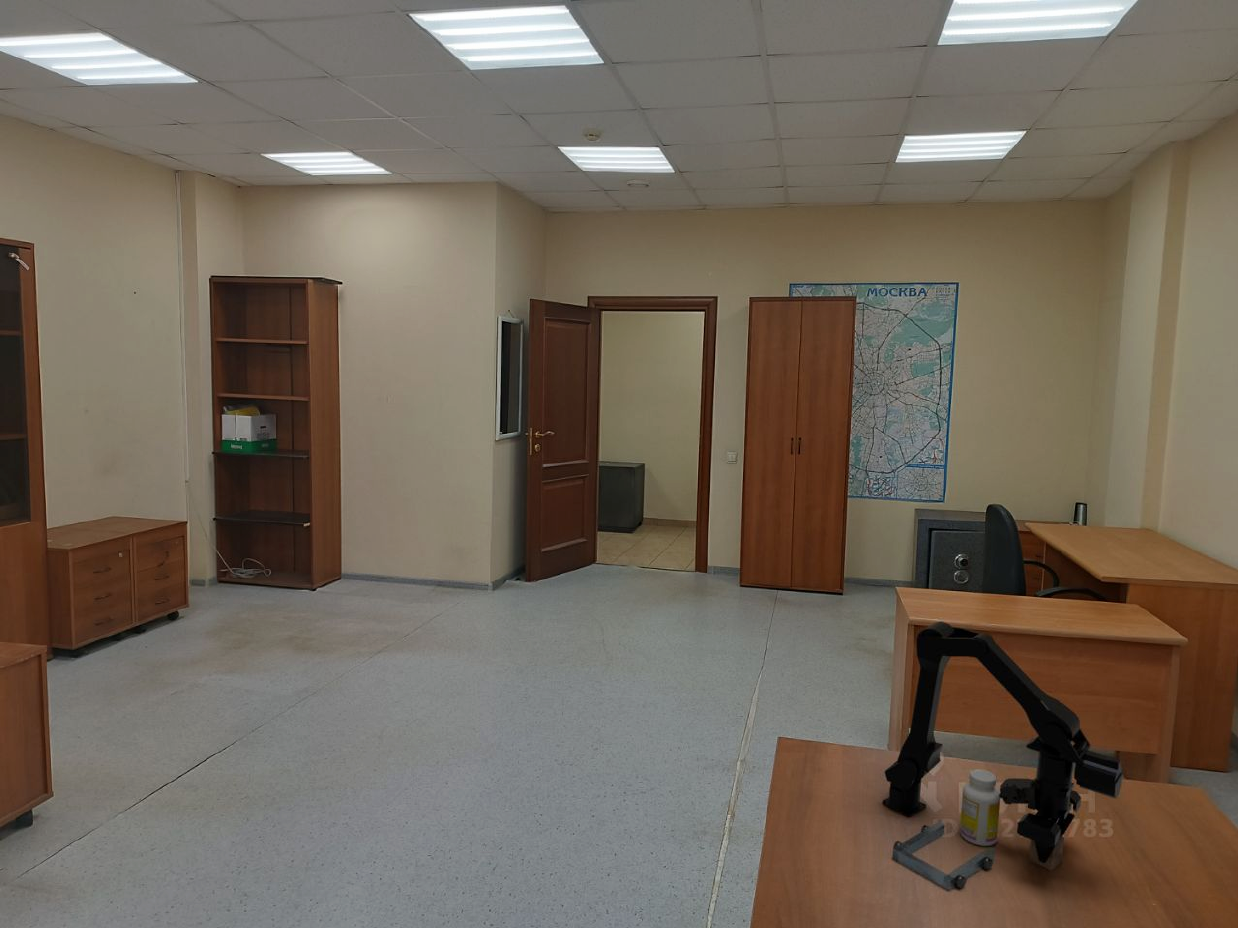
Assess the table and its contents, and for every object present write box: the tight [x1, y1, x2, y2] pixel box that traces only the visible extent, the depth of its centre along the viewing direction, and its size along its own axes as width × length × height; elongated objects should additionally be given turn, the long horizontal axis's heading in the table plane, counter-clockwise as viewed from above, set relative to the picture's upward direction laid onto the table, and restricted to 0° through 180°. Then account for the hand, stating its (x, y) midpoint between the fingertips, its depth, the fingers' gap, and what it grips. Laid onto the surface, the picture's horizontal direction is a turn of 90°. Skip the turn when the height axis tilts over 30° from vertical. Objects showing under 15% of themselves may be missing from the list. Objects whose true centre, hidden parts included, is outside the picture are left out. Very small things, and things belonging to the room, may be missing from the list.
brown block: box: [1028, 836, 1065, 871], centre depth 153 cm, size 4×4×5 cm
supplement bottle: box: [959, 768, 1001, 847], centre depth 160 cm, size 7×7×13 cm
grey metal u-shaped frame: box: [891, 821, 996, 892], centre depth 154 cm, size 15×13×2 cm
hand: (1045, 855), depth 154 cm, fingers closed on brown block, 4 cm apart
